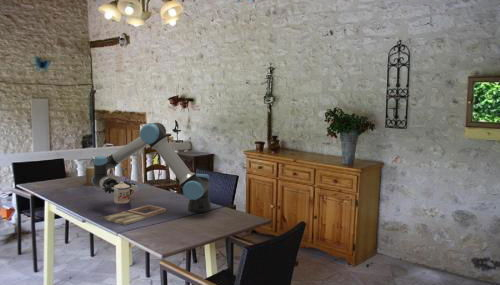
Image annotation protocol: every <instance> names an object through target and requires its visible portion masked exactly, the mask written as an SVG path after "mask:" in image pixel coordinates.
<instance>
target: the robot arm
mask: <svg viewBox="0 0 500 285" xmlns="http://www.w3.org/2000/svg"><path fill="white" fill-rule="evenodd" d="M166 129H167V128H166V127H165V125H164V124H162V122H161V123H160V122H151V123H147V124H144V125H143V126H142V127H141V129H140V130H139V131H140V132H139V136H138V137H137V138H135V139H134V140H132V141H130V142H129V143H127V144H126V145H124V146H122V147H121V148H120V149H118V150H116V151H115V152H113V153H112V154H110V155H109V156H105V155H98V156H94V159H93V160H94V161H93V162H94V176H93V177H92V180H91V182H92V184H93V185H94V186H93V187H96V188H99V189H102V190H103V191H104V192H105V193H108V194H112V193H113V194H114V193H115V194H118V189H116V188H114V186H115V185H118V184H120V182H118V181H117V180H116V179H115V178H112V177H109V176H108V170H111V169H114V168H116V167H117V166H118V165H120V164H121V163H122V162H123V161H125V160H127V159H128V158H130V157H132V156H133V155H136V153H138V152H140V151H141V150H143V149H145V148H146V147H148V146H149V147H150V148H151V150H154V151H155V150H156V152H157V153H158V154H159V156H160V157H161V158H162V160H163V161H164V162H165V164H166V165H167V167H169V169H170V170H171V171H172V173H173V174H174V175H175V177H176V178H177V180H179V186H180V187H181V189H182V193H183V195H184V197H185V198H186V199H188V200H189V201H188V205H187V211H189V212H192V213H206V212H211V210H212V205H211V204H212V203H211V200H210V175H209V174H205V173H195V172H192V171H191V170H190V168H188V166H187V165H186V163H185V162H184V160H182V159H181V157H180V156H179V154H178V153H177V152H176V150H175V149H174V148H173V147H172V145H171V143H170V142H169V141H168V138H169V137H168V136H167V130H166ZM123 182H124V181H123ZM124 183H125V184H127V185H129V186H130V188H133V189H134V192H138V191H139V186H138V185H136V183H133V182H132V183H130V182H124Z"/></svg>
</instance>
